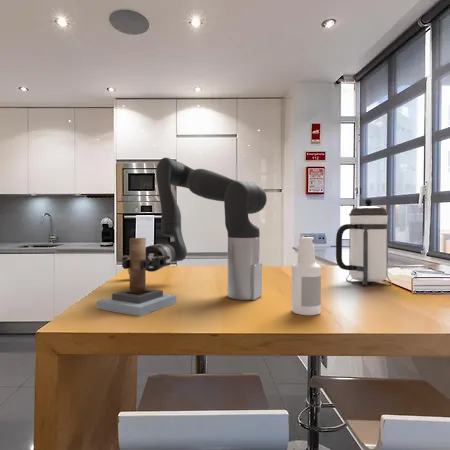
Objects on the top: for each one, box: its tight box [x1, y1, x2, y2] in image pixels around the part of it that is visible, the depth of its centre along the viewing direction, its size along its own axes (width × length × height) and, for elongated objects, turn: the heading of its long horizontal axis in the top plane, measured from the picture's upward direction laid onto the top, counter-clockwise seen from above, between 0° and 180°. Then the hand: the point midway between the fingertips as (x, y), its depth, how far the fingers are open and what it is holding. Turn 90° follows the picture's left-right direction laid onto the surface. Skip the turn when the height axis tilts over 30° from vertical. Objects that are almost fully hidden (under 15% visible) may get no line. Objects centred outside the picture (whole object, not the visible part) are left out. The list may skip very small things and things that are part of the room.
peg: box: [129, 237, 147, 295], centre depth 86 cm, size 4×4×15 cm
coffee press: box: [335, 198, 392, 287], centre depth 117 cm, size 17×16×30 cm
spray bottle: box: [291, 236, 322, 316], centre depth 80 cm, size 7×7×18 cm
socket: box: [96, 288, 177, 317], centre depth 85 cm, size 14×14×4 cm
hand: (133, 264), depth 83 cm, fingers closed on peg, 4 cm apart
